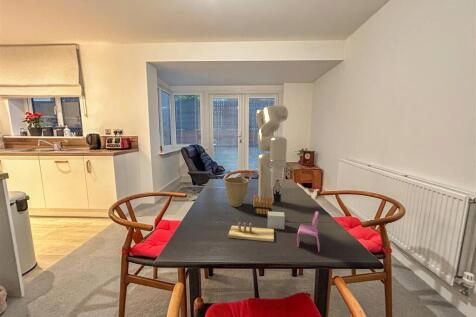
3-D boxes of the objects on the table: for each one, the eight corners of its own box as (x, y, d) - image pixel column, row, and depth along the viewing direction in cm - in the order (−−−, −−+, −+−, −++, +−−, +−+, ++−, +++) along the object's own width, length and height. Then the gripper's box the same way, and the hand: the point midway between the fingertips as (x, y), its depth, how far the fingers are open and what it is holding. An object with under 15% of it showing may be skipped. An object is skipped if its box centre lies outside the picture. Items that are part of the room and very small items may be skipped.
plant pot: (238, 211, 121) (238, 184, 119) (219, 205, 130) (219, 180, 127) (252, 203, 133) (253, 179, 130) (234, 198, 142) (234, 176, 139)
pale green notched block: (267, 223, 106) (267, 211, 105) (283, 224, 105) (284, 212, 104) (267, 227, 101) (267, 215, 100) (284, 229, 100) (284, 216, 99)
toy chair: (298, 238, 92) (299, 206, 90) (319, 242, 89) (321, 209, 86) (296, 248, 84) (297, 213, 82) (319, 253, 81) (321, 217, 79)
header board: (231, 227, 101) (231, 217, 100) (273, 231, 98) (274, 220, 97) (228, 237, 92) (228, 226, 92) (273, 241, 89) (274, 230, 88)
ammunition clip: (252, 214, 116) (253, 194, 114) (253, 213, 118) (253, 193, 116) (272, 216, 114) (272, 195, 112) (272, 215, 116) (272, 194, 114)
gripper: (269, 160, 107) (269, 193, 110) (269, 166, 90) (268, 204, 93) (284, 161, 106) (283, 193, 108) (287, 167, 89) (285, 205, 91)
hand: (276, 198), depth 100 cm, fingers open, 9 cm apart
